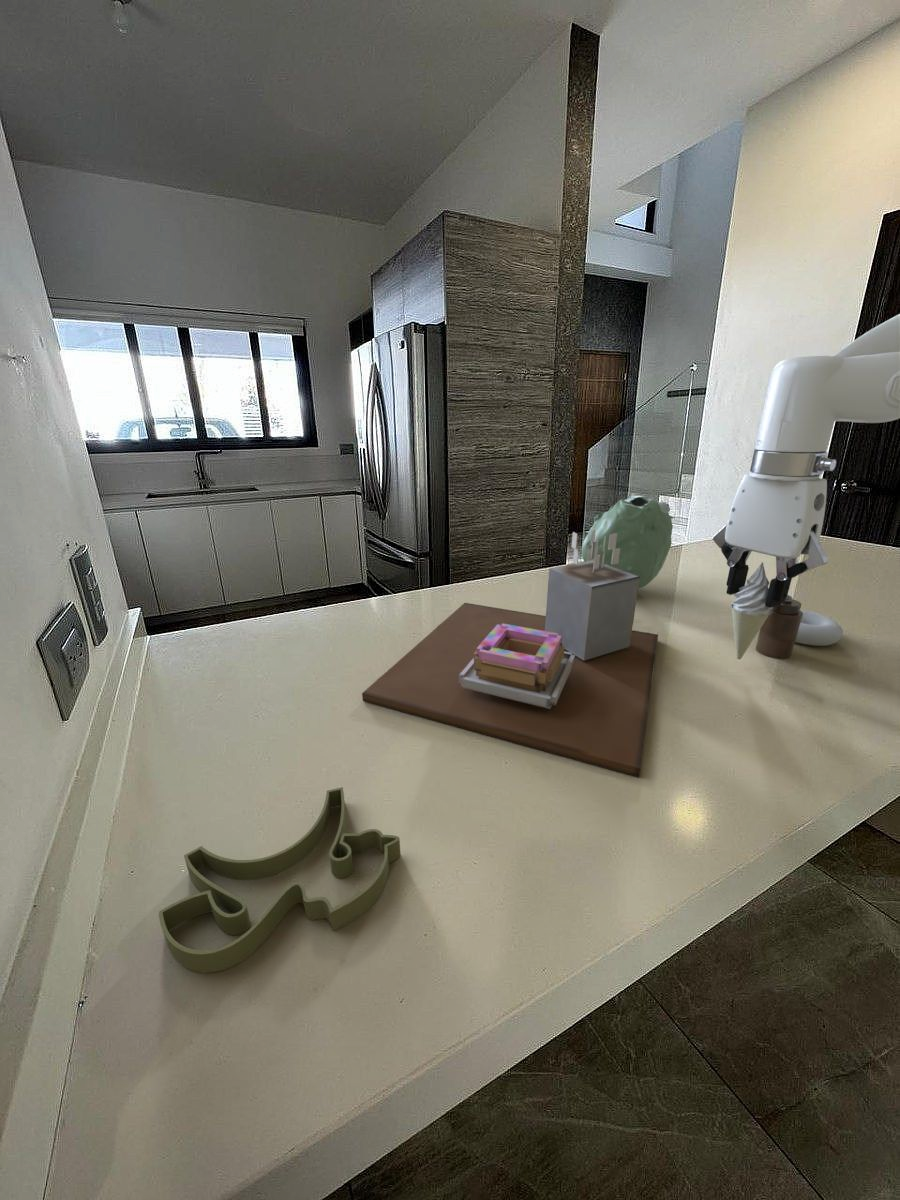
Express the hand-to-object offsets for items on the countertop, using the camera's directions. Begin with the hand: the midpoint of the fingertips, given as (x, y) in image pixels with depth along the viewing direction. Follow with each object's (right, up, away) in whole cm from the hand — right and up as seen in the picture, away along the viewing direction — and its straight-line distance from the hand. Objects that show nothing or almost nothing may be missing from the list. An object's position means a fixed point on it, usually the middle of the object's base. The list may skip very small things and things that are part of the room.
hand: (753, 597), depth 67 cm
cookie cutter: (-56, -24, -27) cm, 67 cm away
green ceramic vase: (-6, +2, +35) cm, 36 cm away
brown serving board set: (-31, -11, +5) cm, 34 cm away
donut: (+17, -7, +14) cm, 23 cm away
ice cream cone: (0, -9, +4) cm, 10 cm away
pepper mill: (+9, -9, +9) cm, 15 cm away
